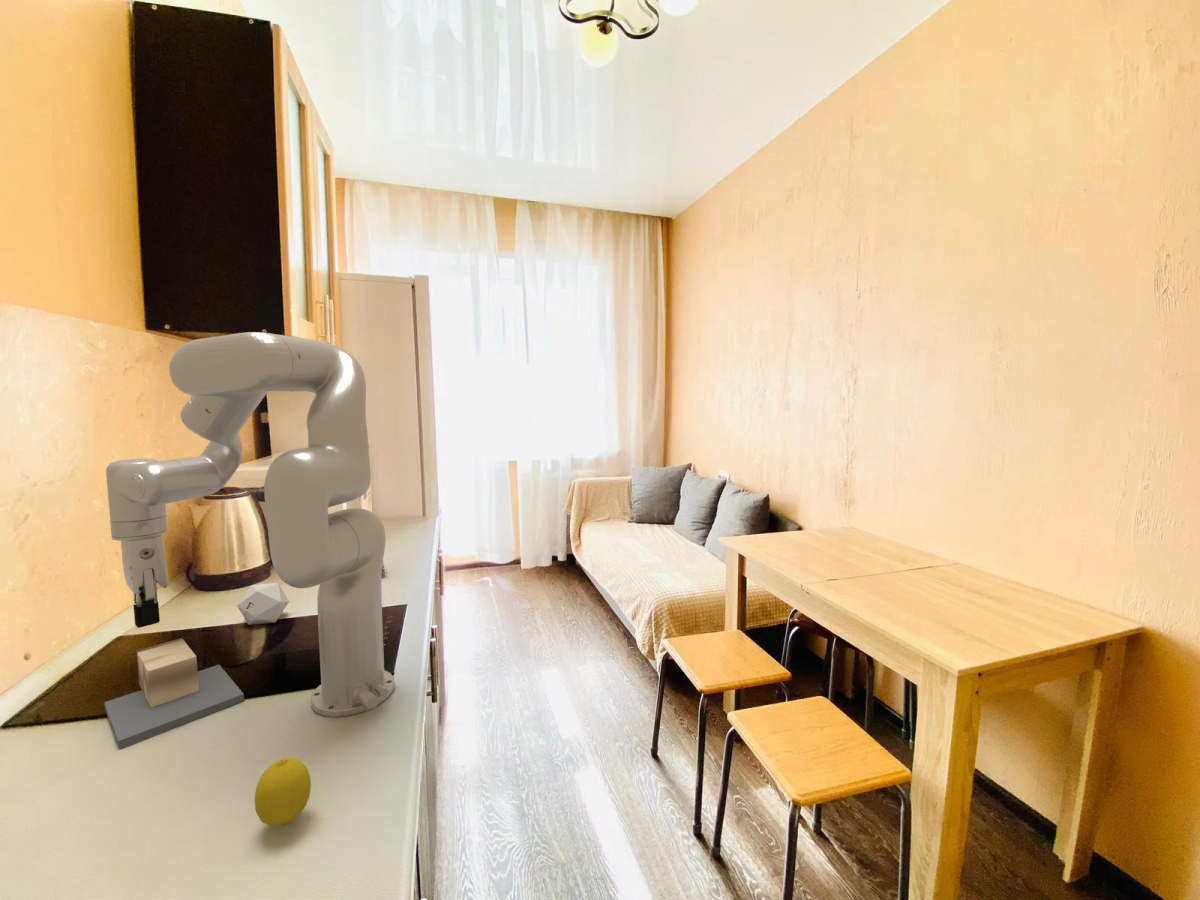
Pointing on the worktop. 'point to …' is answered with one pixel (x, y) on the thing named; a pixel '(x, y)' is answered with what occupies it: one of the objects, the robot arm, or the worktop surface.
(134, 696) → the mat
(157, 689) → the birch block
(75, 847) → the worktop surface
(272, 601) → the die
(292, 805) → the lemon
